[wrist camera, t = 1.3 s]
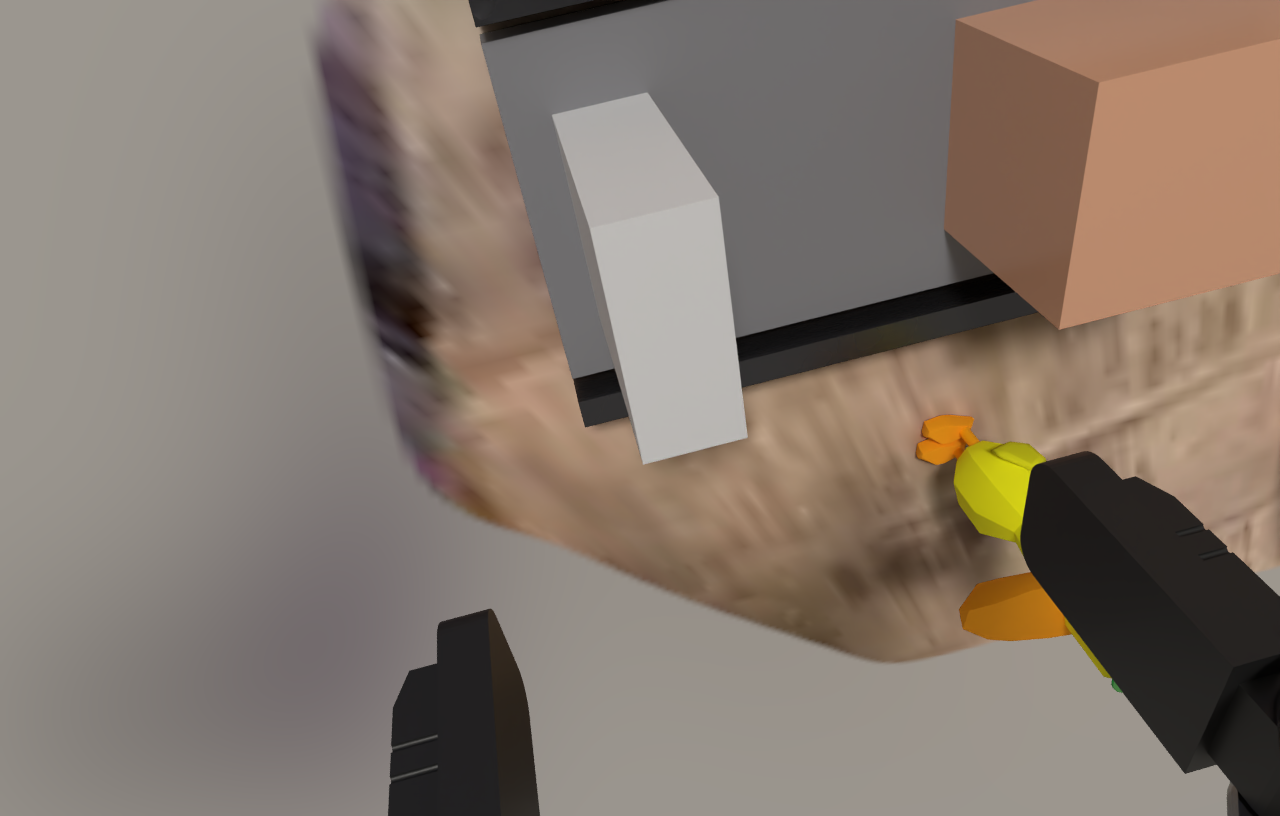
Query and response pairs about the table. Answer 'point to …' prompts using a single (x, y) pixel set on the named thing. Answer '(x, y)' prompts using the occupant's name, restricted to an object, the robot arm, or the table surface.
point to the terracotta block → (1117, 150)
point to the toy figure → (997, 530)
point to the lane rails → (817, 336)
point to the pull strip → (727, 181)
